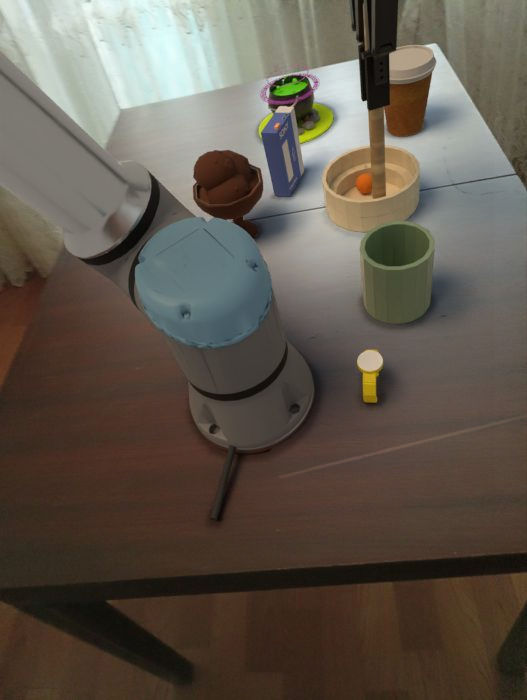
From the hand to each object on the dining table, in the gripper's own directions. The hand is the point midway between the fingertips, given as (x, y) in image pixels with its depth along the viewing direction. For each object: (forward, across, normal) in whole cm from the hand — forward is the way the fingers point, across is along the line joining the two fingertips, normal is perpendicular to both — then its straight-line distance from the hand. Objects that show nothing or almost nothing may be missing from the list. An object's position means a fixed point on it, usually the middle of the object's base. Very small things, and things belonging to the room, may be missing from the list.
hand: (375, 101), depth 63 cm
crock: (+18, -18, +4) cm, 26 cm away
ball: (+16, +6, 0) cm, 17 cm away
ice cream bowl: (+18, +5, +22) cm, 28 cm away
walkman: (+18, +15, +12) cm, 26 cm away
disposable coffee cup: (+18, +22, -12) cm, 30 cm away
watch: (+18, -30, +10) cm, 37 cm away
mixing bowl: (+18, +3, 0) cm, 18 cm away
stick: (+15, 0, 0) cm, 15 cm away
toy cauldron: (+18, +34, +6) cm, 39 cm away
